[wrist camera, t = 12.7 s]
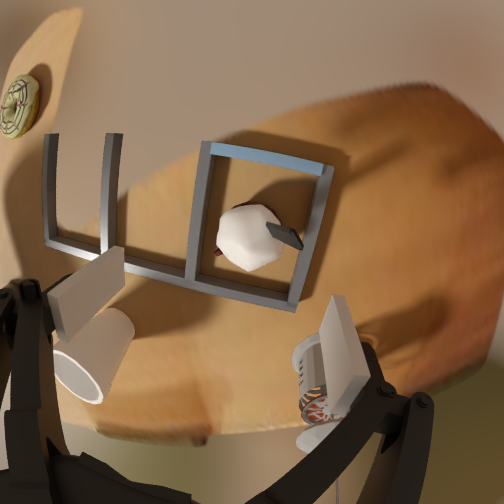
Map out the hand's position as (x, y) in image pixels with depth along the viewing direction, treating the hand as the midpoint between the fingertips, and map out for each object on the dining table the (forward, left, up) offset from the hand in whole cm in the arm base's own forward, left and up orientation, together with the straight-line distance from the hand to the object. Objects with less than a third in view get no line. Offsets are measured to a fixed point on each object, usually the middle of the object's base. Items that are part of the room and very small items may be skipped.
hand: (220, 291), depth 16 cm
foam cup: (-18, -20, -15) cm, 31 cm away
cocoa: (+1, 0, -15) cm, 15 cm away
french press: (+14, -17, -15) cm, 27 cm away
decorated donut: (-40, +13, -15) cm, 44 cm away
